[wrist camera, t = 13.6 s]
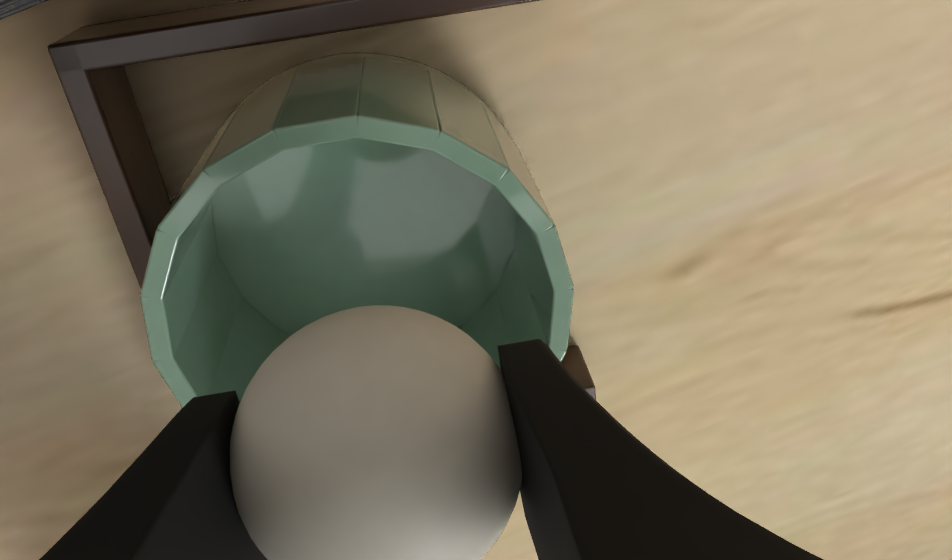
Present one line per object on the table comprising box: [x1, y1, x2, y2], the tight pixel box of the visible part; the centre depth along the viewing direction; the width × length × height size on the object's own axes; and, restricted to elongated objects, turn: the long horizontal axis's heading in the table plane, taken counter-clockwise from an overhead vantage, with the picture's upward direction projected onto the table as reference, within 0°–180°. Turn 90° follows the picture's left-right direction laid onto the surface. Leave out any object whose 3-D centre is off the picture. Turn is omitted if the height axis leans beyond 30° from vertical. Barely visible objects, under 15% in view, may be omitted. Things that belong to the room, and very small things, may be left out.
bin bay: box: [48, 0, 596, 400], centre depth 19 cm, size 11×10×2 cm
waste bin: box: [140, 53, 574, 408], centre depth 17 cm, size 8×8×5 cm
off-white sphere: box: [230, 305, 522, 560], centre depth 11 cm, size 4×4×4 cm
